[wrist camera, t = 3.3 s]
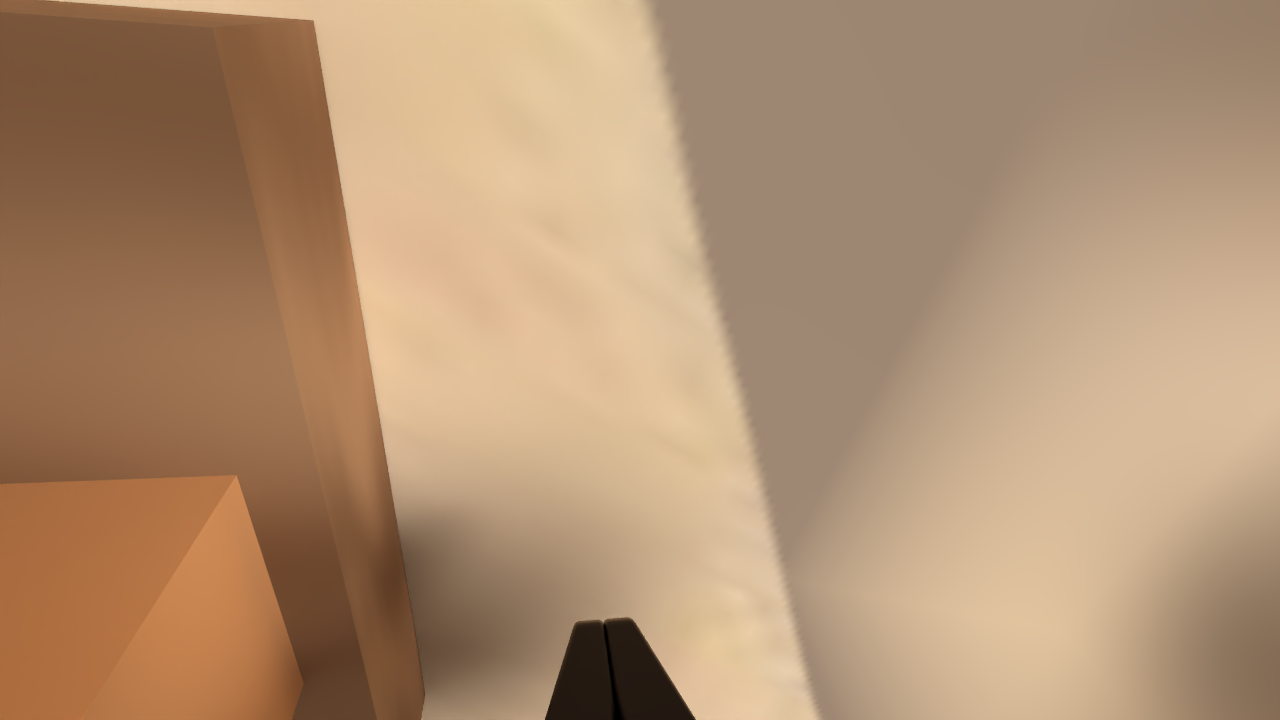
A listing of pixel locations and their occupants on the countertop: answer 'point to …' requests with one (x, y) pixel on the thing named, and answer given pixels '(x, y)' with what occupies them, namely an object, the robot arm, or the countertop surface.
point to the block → (138, 604)
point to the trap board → (201, 308)
